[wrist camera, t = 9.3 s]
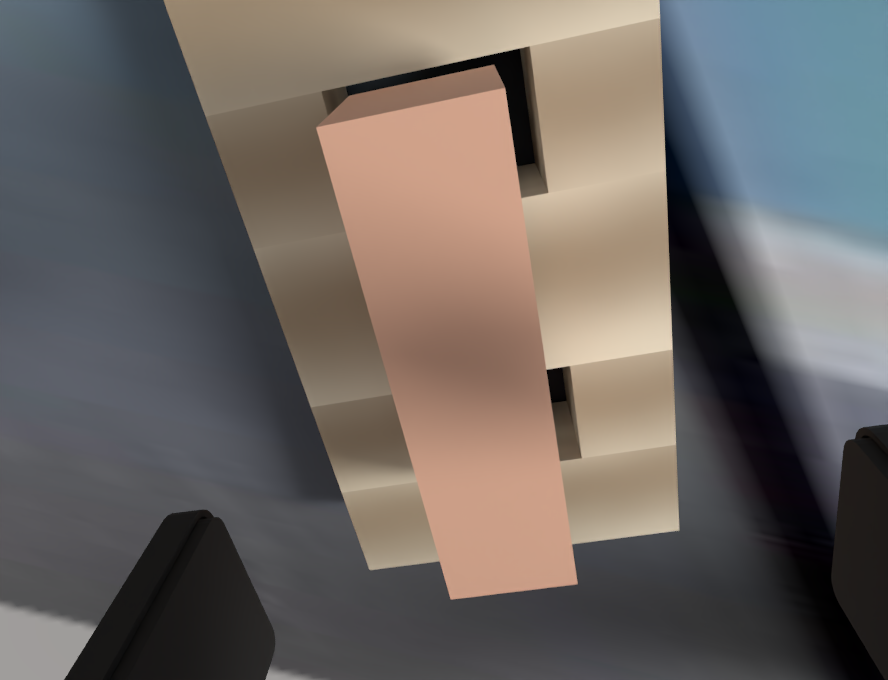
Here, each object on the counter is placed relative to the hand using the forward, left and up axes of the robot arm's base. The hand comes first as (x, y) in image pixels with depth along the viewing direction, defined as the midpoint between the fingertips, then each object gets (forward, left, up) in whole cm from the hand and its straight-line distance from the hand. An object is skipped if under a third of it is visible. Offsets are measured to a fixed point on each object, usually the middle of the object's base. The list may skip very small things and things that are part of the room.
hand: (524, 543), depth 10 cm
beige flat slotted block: (+1, +1, -11) cm, 11 cm away
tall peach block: (+1, +1, -11) cm, 11 cm away
